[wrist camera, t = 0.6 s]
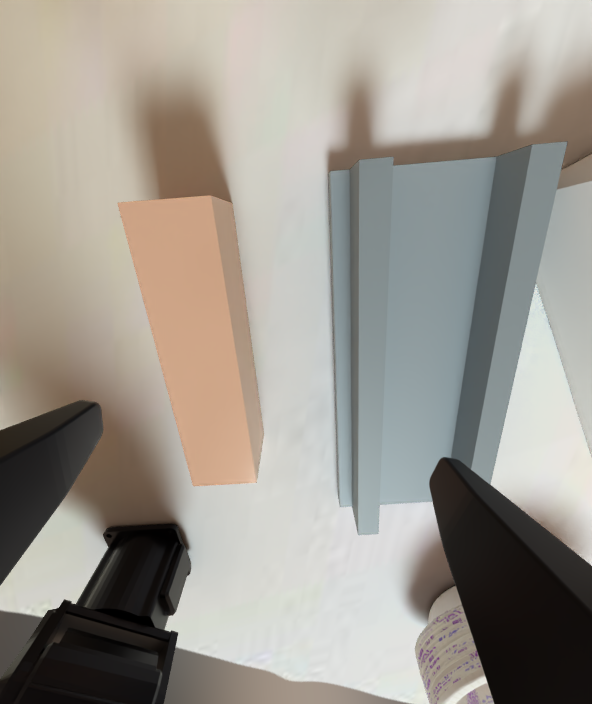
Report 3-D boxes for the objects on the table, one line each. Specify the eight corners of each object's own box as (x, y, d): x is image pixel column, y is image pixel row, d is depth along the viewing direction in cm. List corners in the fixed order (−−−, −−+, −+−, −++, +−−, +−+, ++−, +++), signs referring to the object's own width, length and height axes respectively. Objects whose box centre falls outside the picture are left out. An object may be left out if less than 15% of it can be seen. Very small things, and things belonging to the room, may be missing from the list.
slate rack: (338, 497, 26) (344, 535, 23) (328, 174, 17) (336, 161, 13) (468, 488, 26) (494, 527, 22) (532, 156, 16) (591, 139, 13)
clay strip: (213, 435, 24) (193, 486, 19) (164, 208, 17) (117, 202, 13) (264, 432, 23) (256, 482, 19) (233, 203, 17) (210, 195, 13)
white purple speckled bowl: (540, 538, 28) (628, 648, 21) (559, 623, 33) (634, 735, 26) (384, 583, 30) (413, 696, 23) (425, 656, 36) (459, 766, 28)
